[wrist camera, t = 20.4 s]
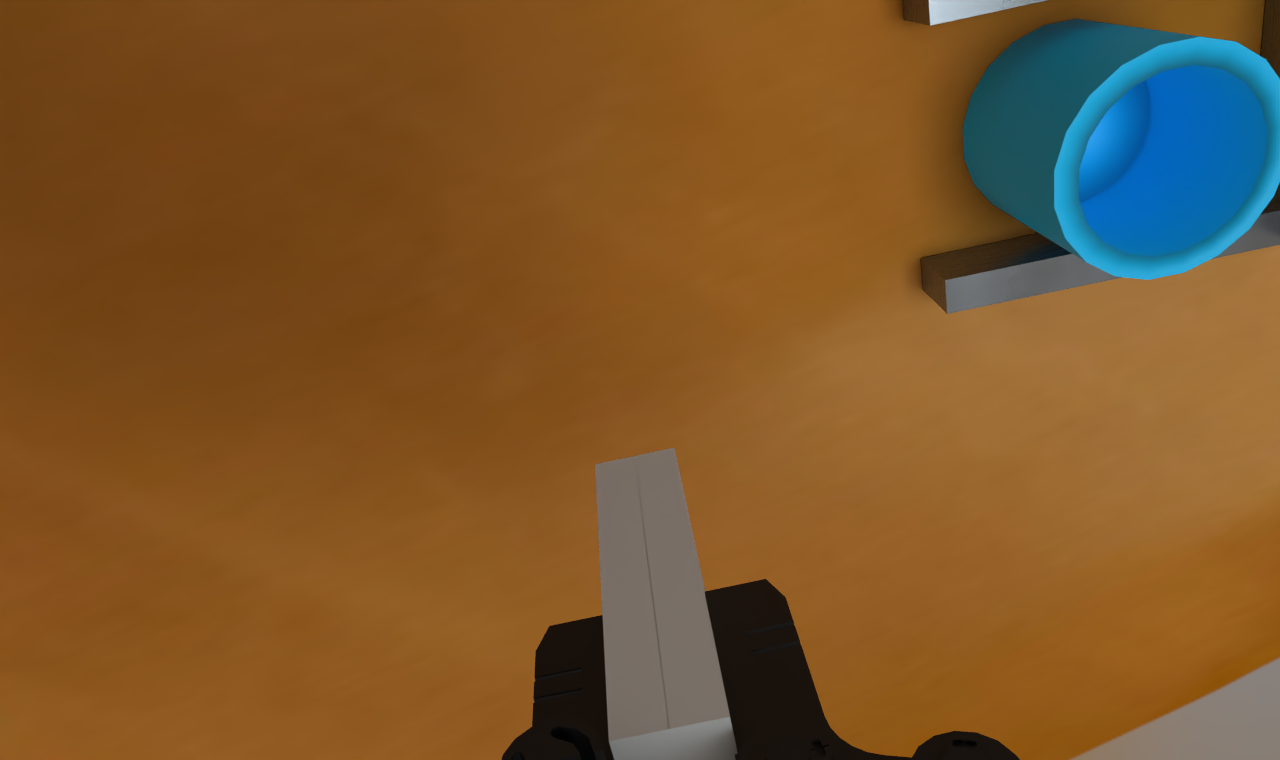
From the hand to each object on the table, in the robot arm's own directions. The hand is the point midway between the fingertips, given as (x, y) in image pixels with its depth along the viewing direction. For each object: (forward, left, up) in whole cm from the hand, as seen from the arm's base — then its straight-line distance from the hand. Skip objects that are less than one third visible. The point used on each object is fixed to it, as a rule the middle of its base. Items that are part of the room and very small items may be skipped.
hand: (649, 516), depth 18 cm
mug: (+1, +21, -24) cm, 32 cm away
